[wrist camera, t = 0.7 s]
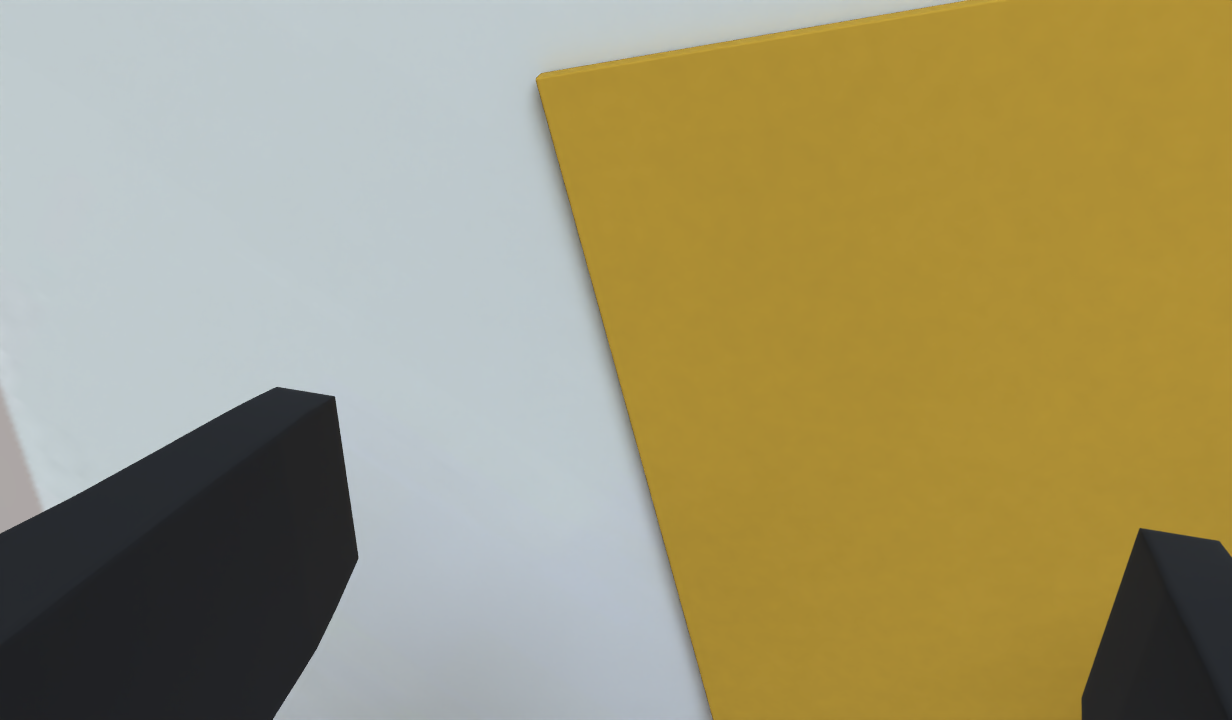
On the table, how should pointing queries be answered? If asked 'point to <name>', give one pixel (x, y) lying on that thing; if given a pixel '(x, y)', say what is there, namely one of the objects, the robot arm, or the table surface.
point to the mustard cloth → (916, 336)
